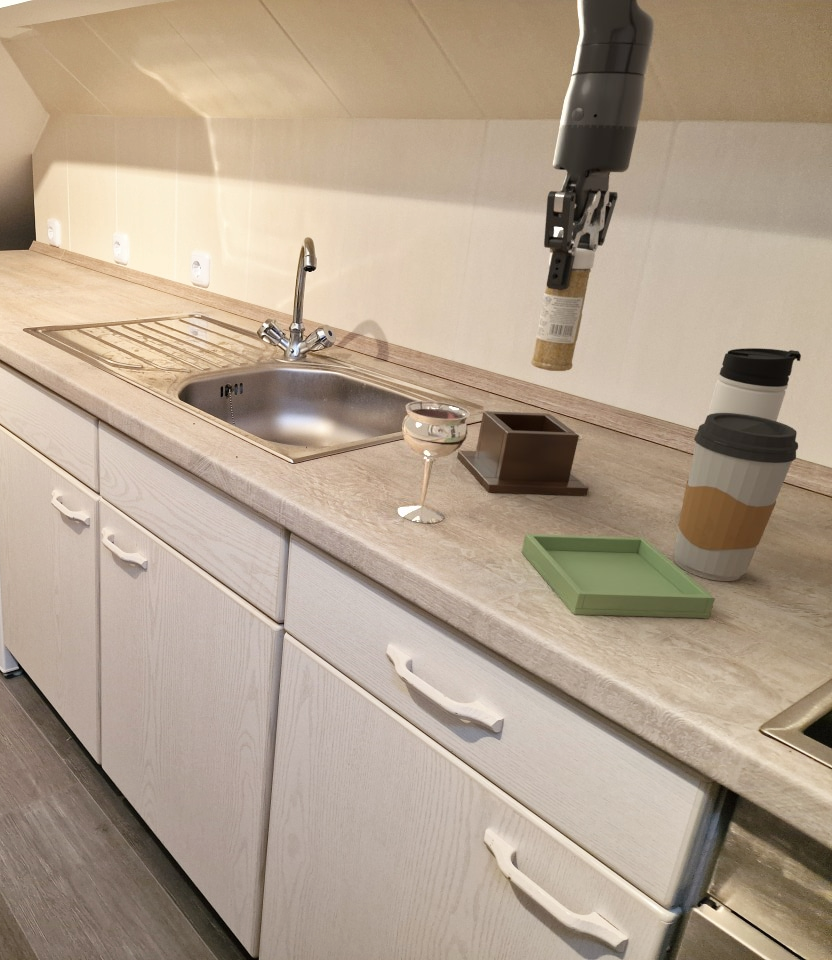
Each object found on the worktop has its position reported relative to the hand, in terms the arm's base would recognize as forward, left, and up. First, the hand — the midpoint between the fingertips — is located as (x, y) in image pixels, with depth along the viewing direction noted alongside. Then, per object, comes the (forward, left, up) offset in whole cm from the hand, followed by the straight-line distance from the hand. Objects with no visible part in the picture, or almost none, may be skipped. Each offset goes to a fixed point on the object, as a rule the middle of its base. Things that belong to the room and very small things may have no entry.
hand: (566, 286), depth 96 cm
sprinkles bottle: (0, 0, -10) cm, 10 cm away
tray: (+2, +26, -24) cm, 35 cm away
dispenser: (0, -2, -24) cm, 24 cm away
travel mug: (-17, +11, -24) cm, 31 cm away
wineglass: (+16, +11, -24) cm, 31 cm away
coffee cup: (-10, +22, -24) cm, 34 cm away
